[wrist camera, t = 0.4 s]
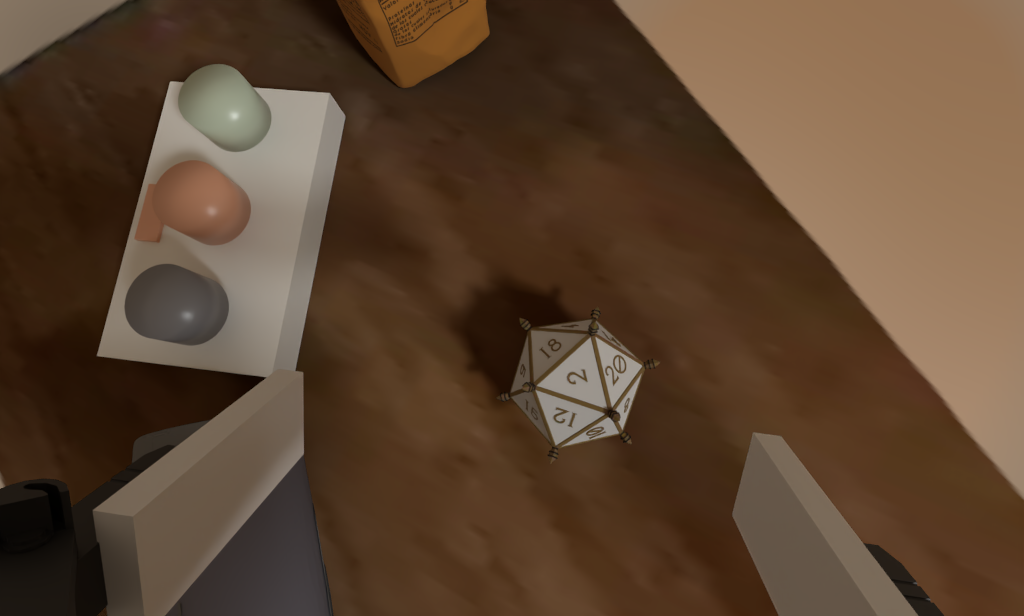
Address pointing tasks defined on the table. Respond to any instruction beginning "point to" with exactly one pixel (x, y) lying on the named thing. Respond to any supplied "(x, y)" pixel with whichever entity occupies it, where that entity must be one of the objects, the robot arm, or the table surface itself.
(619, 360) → the game die
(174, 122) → the console
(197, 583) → the bluetooth speaker
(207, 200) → the terracotta button
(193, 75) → the sage button
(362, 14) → the coffee package
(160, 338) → the charcoal button
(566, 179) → the table surface
